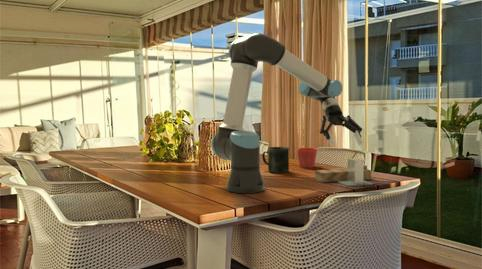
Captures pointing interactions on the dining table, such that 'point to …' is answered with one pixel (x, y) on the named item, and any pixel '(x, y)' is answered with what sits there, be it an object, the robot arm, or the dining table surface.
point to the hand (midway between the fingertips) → (346, 144)
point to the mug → (277, 159)
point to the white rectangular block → (355, 170)
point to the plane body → (338, 175)
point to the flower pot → (306, 157)
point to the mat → (354, 184)
